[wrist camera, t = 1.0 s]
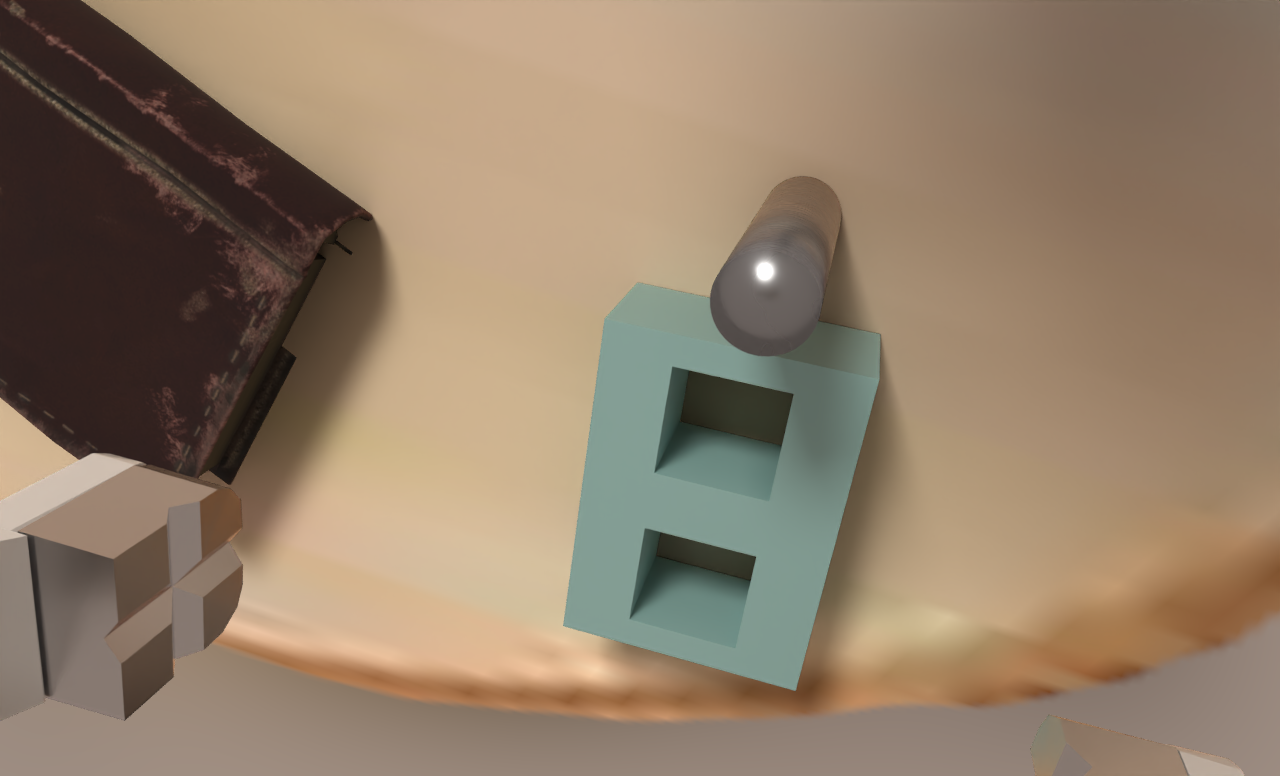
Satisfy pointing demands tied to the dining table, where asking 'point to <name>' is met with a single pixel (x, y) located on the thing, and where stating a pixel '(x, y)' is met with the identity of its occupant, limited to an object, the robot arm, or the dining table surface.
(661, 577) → the hole block
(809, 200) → the peg
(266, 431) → the dining table surface
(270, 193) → the diary
